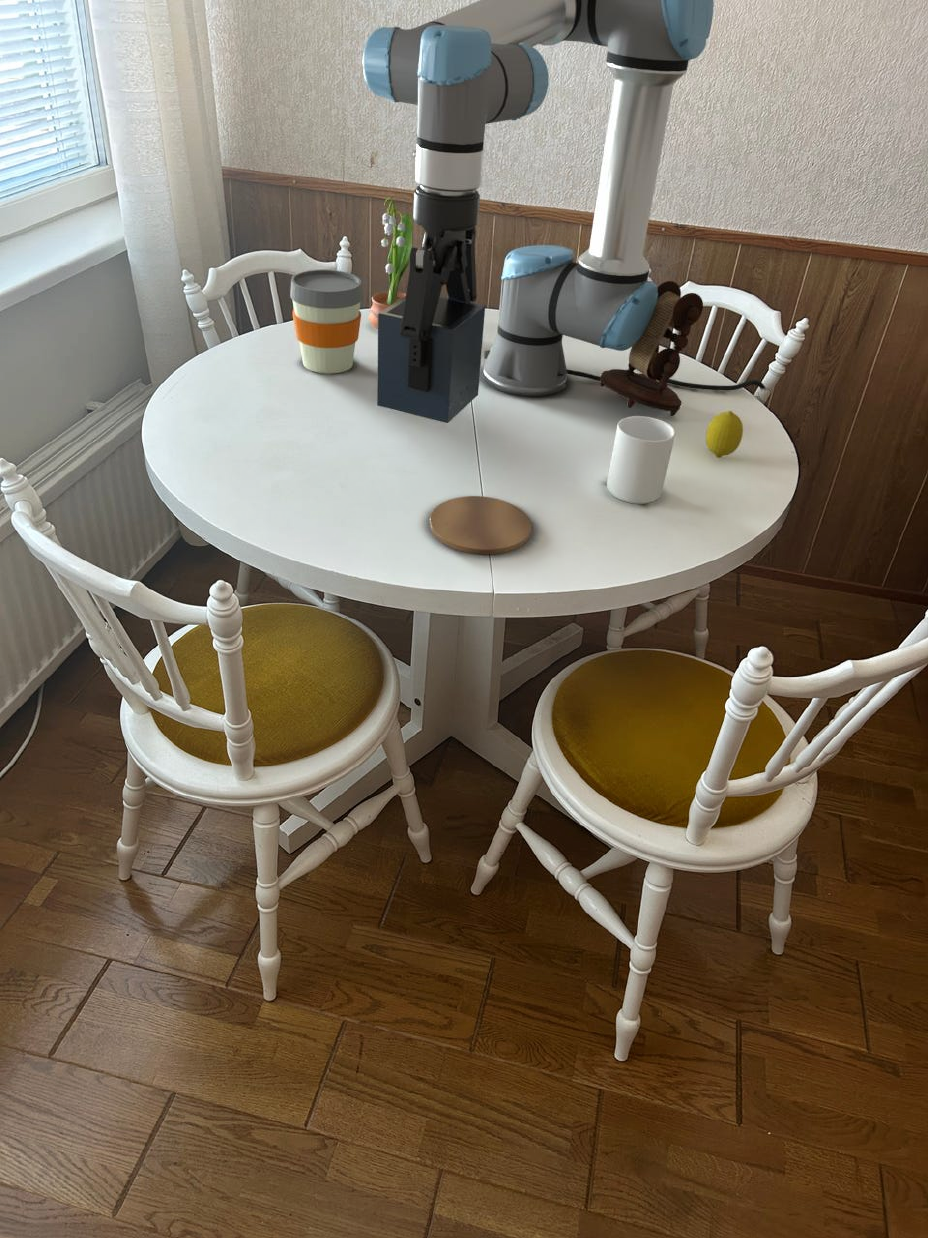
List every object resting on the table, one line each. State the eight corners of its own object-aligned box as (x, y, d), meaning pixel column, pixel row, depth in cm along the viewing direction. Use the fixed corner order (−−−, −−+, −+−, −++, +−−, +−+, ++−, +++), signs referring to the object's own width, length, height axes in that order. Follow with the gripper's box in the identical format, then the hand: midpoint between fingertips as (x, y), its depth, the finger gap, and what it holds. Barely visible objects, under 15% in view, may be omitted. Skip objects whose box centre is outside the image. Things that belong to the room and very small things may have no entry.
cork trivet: (510, 496, 134) (511, 491, 134) (545, 548, 124) (546, 543, 123) (418, 505, 130) (418, 500, 130) (446, 559, 120) (446, 554, 119)
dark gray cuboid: (377, 312, 111) (453, 329, 108) (413, 290, 119) (485, 305, 116) (376, 405, 119) (447, 423, 116) (410, 378, 126) (478, 395, 123)
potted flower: (409, 342, 179) (413, 205, 164) (359, 335, 181) (359, 198, 165) (423, 322, 189) (429, 191, 174) (376, 315, 190) (377, 184, 175)
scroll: (582, 378, 163) (626, 264, 153) (647, 392, 170) (693, 284, 160) (623, 411, 152) (674, 290, 143) (691, 424, 159) (743, 310, 150)
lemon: (737, 453, 151) (749, 408, 146) (733, 468, 147) (746, 421, 142) (703, 446, 152) (714, 401, 147) (698, 460, 148) (710, 414, 143)
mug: (588, 468, 143) (598, 406, 137) (637, 464, 145) (649, 403, 139) (619, 507, 134) (631, 443, 128) (670, 503, 136) (685, 439, 130)
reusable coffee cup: (278, 364, 166) (274, 280, 157) (322, 345, 175) (320, 264, 166) (333, 383, 161) (332, 297, 152) (376, 362, 170) (377, 280, 161)
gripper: (457, 165, 114) (446, 340, 128) (371, 201, 97) (369, 398, 111) (513, 175, 112) (496, 352, 126) (435, 213, 95) (425, 413, 109)
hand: (437, 374), depth 118 cm, fingers closed on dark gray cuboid, 10 cm apart
